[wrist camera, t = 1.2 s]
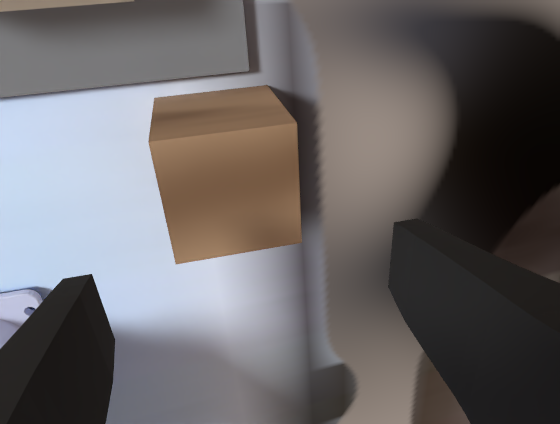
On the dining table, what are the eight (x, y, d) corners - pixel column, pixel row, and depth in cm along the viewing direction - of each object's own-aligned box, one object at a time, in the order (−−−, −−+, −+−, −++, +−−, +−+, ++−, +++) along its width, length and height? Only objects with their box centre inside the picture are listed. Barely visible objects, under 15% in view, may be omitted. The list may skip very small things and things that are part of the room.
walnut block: (274, 183, 20) (301, 242, 16) (175, 198, 19) (176, 264, 15) (267, 84, 18) (296, 122, 13) (154, 97, 17) (148, 141, 13)
